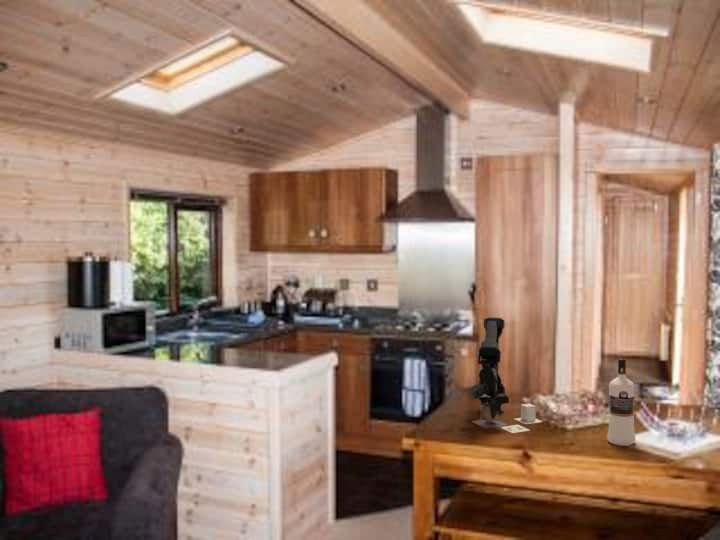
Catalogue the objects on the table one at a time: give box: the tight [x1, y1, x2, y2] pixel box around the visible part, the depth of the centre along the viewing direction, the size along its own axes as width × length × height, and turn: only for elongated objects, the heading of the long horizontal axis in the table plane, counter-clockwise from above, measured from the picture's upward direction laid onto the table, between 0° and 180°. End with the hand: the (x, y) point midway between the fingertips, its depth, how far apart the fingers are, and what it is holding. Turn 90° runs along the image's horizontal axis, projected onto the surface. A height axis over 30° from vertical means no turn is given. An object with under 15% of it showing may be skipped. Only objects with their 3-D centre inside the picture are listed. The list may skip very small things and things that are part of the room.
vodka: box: [606, 357, 636, 447], centre depth 234 cm, size 9×9×30 cm
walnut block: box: [479, 403, 499, 422], centre depth 259 cm, size 5×5×6 cm
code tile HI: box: [514, 417, 543, 425], centre depth 262 cm, size 8×8×1 cm
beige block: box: [520, 403, 537, 422], centre depth 262 cm, size 4×4×6 cm
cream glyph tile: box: [500, 424, 531, 434], centre depth 252 cm, size 8×8×1 cm
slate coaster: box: [471, 419, 508, 429], centre depth 259 cm, size 10×10×1 cm
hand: (489, 416), depth 259 cm, fingers closed on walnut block, 5 cm apart
